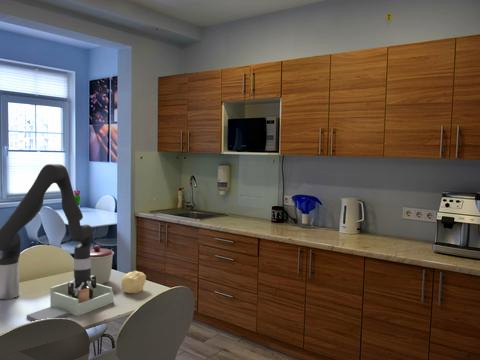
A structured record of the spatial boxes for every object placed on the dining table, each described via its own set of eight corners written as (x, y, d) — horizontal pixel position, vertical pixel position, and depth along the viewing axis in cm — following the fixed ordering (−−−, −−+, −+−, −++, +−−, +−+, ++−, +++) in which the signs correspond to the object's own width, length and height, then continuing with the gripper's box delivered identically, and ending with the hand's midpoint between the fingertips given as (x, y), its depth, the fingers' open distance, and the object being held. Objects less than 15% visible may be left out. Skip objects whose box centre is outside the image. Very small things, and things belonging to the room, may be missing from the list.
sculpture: (137, 296, 203) (137, 275, 203) (116, 293, 207) (116, 273, 207) (149, 289, 214) (149, 269, 214) (129, 286, 218) (129, 267, 217)
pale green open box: (50, 306, 189) (50, 287, 188) (86, 293, 206) (86, 276, 205) (78, 315, 178) (78, 296, 178) (113, 302, 196) (113, 283, 195)
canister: (74, 281, 224) (74, 244, 223) (105, 275, 237) (105, 240, 235) (87, 290, 211) (87, 250, 210) (119, 283, 223) (119, 246, 222)
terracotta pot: (72, 304, 191) (72, 288, 190) (83, 300, 197) (83, 284, 196) (81, 307, 188) (81, 291, 187) (92, 303, 193) (92, 287, 193)
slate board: (26, 318, 175) (26, 315, 175) (51, 309, 185) (51, 306, 185) (43, 325, 169) (43, 321, 168) (68, 315, 179) (68, 312, 179)
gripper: (89, 262, 199) (89, 294, 200) (64, 269, 187) (64, 303, 188) (99, 264, 195) (100, 297, 196) (74, 272, 183) (74, 306, 184)
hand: (82, 300), depth 192 cm, fingers open, 8 cm apart
